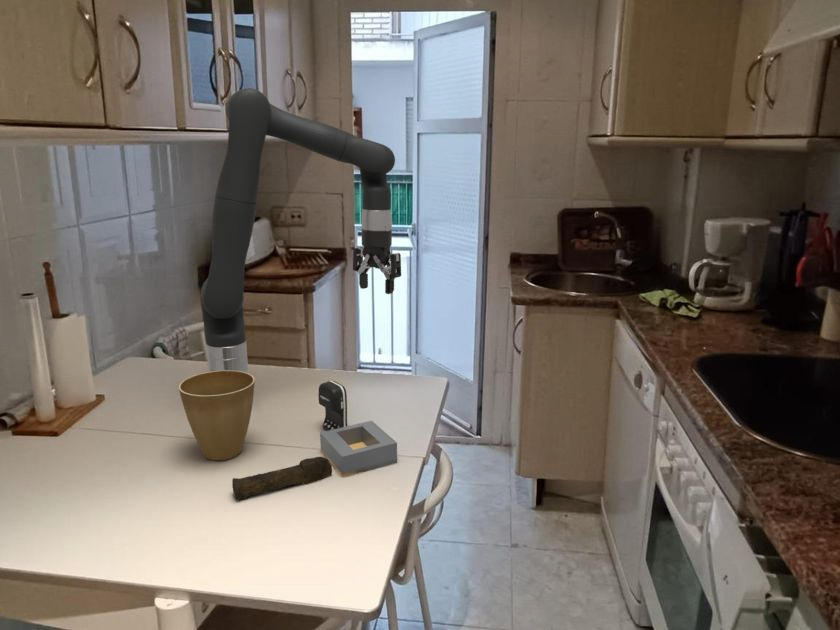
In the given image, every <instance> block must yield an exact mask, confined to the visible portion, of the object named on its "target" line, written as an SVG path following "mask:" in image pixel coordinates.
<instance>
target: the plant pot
mask: <svg viewBox="0 0 840 630" xmlns="http://www.w3.org/2000/svg"><path fill="white" fill-rule="evenodd" d="M255 382H256V379H255V376H253V375H252V374H250V373H246V372H242V371H233V370H222V371H212V372H207V371H206V372H201V373H198V374H194V375H192V376H189V377H187V378H186V379H184V380H183V381H181V382H180V384H179V385H178V391H179V395H180V399H181V402H182V407H183V409H184V412H185V415H186V418H187V421H188V424H189V427H190V428H191V431H192V433H193V435H194V438H195V440H196V442H197V444H198V446H199V448H200V450H201V452H202V454H203V455H204V457H205V458H206V459H208V460H210V459H211V461H215V460H221V461H226V460H227V459H228V460H231V459H234V458H235V457H237V456H239V455H240V453H242V449H243V446H244V443H245V440H246V437H247V433H248V429H249V425H250V419H251V416H252V415H251V414H252V410H253V403H254V395H255V394H254V392H255V384H256V383H255ZM238 454H239V455H238ZM233 457H234V458H233Z"/></svg>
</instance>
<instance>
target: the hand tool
mask: <svg viewBox="0 0 840 630" xmlns="http://www.w3.org/2000/svg"><path fill="white" fill-rule="evenodd" d="M332 474H333V465H332V464H331V463H330V462H329V461H328V460H327V458H326V457H325V456H316V457H310V458H305V459H302V460H300V461H299V463H298V464H296V465H293V466H289V467H284V468H281V469H276V470H272V471H268V472H263V473H257V474H254V475H249V476H245V477H240V478H236V477H233V478H232V481H231V482H232V483H231V484H232V491H233V492H232V493H233V495H234V498H236V499H235V500H236V501H237V502H238V501H240V499H242V498H243V499H246V500H247V498H249V497H250V496H253V495H258V494H261V493H265V492H269V491H274V490H277V489H281V488H282V489H283V488H285V487H289V486H293V485H297V484H298V485H299V484H303V483H304V485H310V484H313V483H316V482H319V481H322V480H324V479H326V478H328V477H329V476H331V475H332ZM318 480H319V481H318ZM309 483H310V484H309Z"/></svg>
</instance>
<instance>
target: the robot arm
mask: <svg viewBox="0 0 840 630" xmlns="http://www.w3.org/2000/svg"><path fill="white" fill-rule="evenodd" d="M225 114H226V117H227V120H228V134H227V135H228V137H227V138H228V139H227V147H226V148H227V150H226V153H225V158H224V160H223V164H222V167H221V170H220V174H219V176H218V177H219V178H218V180H217V185H216V187H215V188H216V189H215V194H214V203H213V208H212V210H213V211H212V218H211V219H212V221H211V240H212V242H211V244H212V248H211V249H212V254H211V262H210V267H209V270H208V271H209V272H208V276H207V278H206V279H205V280H204V282H203V284H202V287H201V289H200V298H201V299H200V300H201V306H202V307H201V308H202V318H203V319H202V320H203V329H204V337H205V338H204V340H205V347H206V358H207V367H208V368H207V369H208V370H206V372H212V371H222V370H233V371H242V372H246V373H249V363H248V362H249V361H248V350H247V348H248V347H247V336H246V335H247V334H246V333H247V332H246V327H245V318H244V307H243V304H244V300H245V299H244V297H245V296H244V295H245V294H244V293H245V292H244V290H245V289H244V283H245V282H244V281H245V267H246V261H247V255H248V251H249V247H250V243H251V240H252V235H253V230H254V225H255V220H256V213H257V207H258V201H259V200H258V199H259V191H260V190H259V189H260V179H261V176H260V175H261V162H262V161H261V160H262V155H263V149H264V144H265V142H266V136H269V137H272V138H273V137H274V138H276V139H280V140H283V141H284V142H285V141H286V142H289V143H290V144H291V143H292V144H294V145H296V146H299V147H302V148H304V149H305V150H308V151H311V152H314V153H316V154H318V155H321V156H324V157H326V158H329V159H332V160H335V161H337V162H341V163H345V164H351V165H353V166H356V167H358V168H359V173H360V182H361V187H362V211H361V213H362V214H361V245H362V246H363V247H362V246H360V247H355V248H353V256H352V257H353V258H352V271H354V272H357V274H358V275H359V276H358V281H359V288H360V289H363V290H364V289H367V288H368V287H369V279H368V278H369V274H368V272H369V270H370V269H371V268H375V269H378V270H380V272H381V273H382V274H383V275H384V277H385V283H384V285H385V287H384V288H385V289H384V291H385V294H386V295H390V294H393V292H394V291H395V279H396V278H400V277H401V276H402V261H401V259H402V257H401V253H399V252H397V253H395V252H394V253H392V252H391V246H392V245H393V244H392V241H393V240H392V239H393V218H392V217H393V216H392V190H391V188H390V186H389V184H388V179H387V174H388V173H390V172H391V171H392V170H393V169H394V168H395V167H394V166H395V164H396V157H395V154H394V152H393V150H392V149H391V148H390V147H388V146H387V145H384V144H383V143H379V142H376V141H373V140H370V139H365V138H364V137H359V136H358V135H354V134H352V133H350V132H348V131H345V130H343V129H339V128H337V127H335V126H333V125H331V124H330V125H329V124H327V123H323V122H320V121H317V120H313V119H309V118H306V117H302V116H299V115H296V114H293V113H291V112H287V111H286V110H283V109H281V108H279V107H277V106H275V105H274V104H271V103H270V101H269V99H268V98H267V97H266V95H265V93H263V92H262V91H260V90H258V89H256V88H252V87H246V88H242V89H239V90H237V91H236V92H234V93H233V94H232V95H231V96H230V97H229V98H228V100H227V103H226V106H225ZM249 374H250V373H249Z"/></svg>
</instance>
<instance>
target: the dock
mask: <svg viewBox="0 0 840 630" xmlns="http://www.w3.org/2000/svg"><path fill="white" fill-rule="evenodd" d="M319 439H320V441H319V442H320V443H319V444H320V454H322V455H323V457H324V458H326V459H327V460H328V461H329V463H330V464H331V466H332V467H333V468H334V469H335V470H336V471H337V472H338V473H339V474H340V476H341V477H342V478H346V477H349V476H353V475H356V474H360V473H363V472H368V471H371V470H375V469H379V468H382V467H383V468H384V467H386V466H390V465H393V464H397V463H398V442H397V441H396V440H394V438H392V437H391V436H390V435H389V434H388V433H387V432H386V431H384V430H383V429H382V428H381V427H379V425H377V424H376V423H375V422H374V421H373V420H367V421H364V422H360V423H356V424H350V425H347V426H346V427H342V428H338V429H333V430H329V431H327V430H325V431H321V432H320V433H319Z"/></svg>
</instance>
